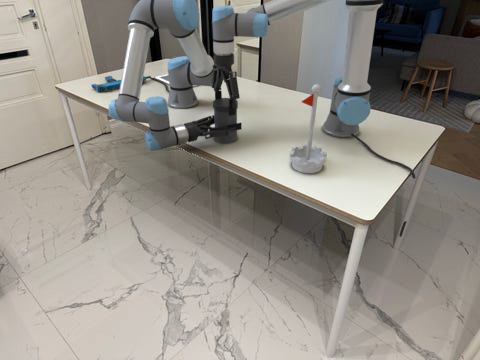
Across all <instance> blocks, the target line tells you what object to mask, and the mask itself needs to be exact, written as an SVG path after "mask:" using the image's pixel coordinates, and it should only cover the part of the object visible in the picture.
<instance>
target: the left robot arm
mask: <svg viewBox="0 0 480 360" xmlns="http://www.w3.org/2000/svg"><path fill="white" fill-rule="evenodd" d="M199 24H200V12H199V6H198V3H197V0H139V1H138V2H137V3H136V5H135V6H134V7H133V9H132V10H131V13H130V15H129V19H128V23H127V29H128V31H129V34H128V41H127V44H126V51H125V57H124V62H123V67H122V74H121V78H120V80H121V85H120V87H119V91H118V96H117V98H116V99H112V100H111V101H110V103H109V104H108V114H109V116H110V117H111V118H112V119H113V120H116V121H122V122H133V123H139V124H148V127H149V130H148V131H145V132H144V141H145V145H146V147H147V150H149V151H150V152H153V151H159V150H161V151H162V150H164V149H168V148H171V147H174V146H181V145H184V144H187V143H193V142H196V141H197V140H198V139H199V137H204V140H209V139H213V138H214V139H215V137H223V136H229V132H232V131H236V130H237V131H240V130H243V129H242V128H243V127H242V126H243V123H242V122H237V123H236V124H232V125H228V126H227V127H215V126H212V125H215V124H214V114H213V115H208V116H205V117H203V118H200V119H197V120H191V121H189V122H184V123H180V124H175V125H172V126H171V123H170V122H171V121H170V113H169V107H171V108H173V109H189V108H193V107H195V106H197V105H198V97H197V95H196V93H195V90H194V87H193V85H199V86H201V87H210V88H212V87H211V85H212V76H213V65H215V64H214V58H213V57H212V56H211V55H209V54H208V53H207V50H206V48H205V46H204V43H203V41H202V39H201V36H200V34H199V32H198V29H197V28H198V27H199ZM157 29H161V30H168V32H169V33H170V35H171V36H172V37H174V38H175V39H177V40H178V42H179V44H180V46H181V47H182V50H183V52H184V53H185V55H182V56H177V57H173V58H170V59H169V60H168V61H167V74H168V75H169V83H170V85H169V88H168V84H167V83H165V82H162V81H160V80H158V79H156V78H154V77H151V78H149V79H151V80H153V81H155V82H158V83H160V84H162V85H164V87H165V90H166V91H167V92H168V93H169V94H168V99H166V98H165V97H163V96H157V95H156V96H149V97H148V98H146V99H145V101H140V97H141V93H142V92H141V91H142V87H143V82H142V81H143V76H145V70H146V63H147V58H148V53H149V47H150V41H151V38H152V37H154V36H155V35H154V34H155V30H157ZM214 85H215V84H214ZM168 106H169V107H168Z"/></svg>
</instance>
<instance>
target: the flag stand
mask: <svg viewBox="0 0 480 360" xmlns="http://www.w3.org/2000/svg"><path fill="white" fill-rule="evenodd" d="M321 91H322V86H321V85H320V84H318V83H316V84H313V85H312V86H311V92H312V94H310V95H309V96H308V97H306V98H305V99H303V100H302V101H301V103H303V104H305V105H307V106H309V107H311V108H310V109H311V110H310V117H309V125H308V126H309V127H308V135H307V143H304V144H302V146H301V147H299V146H298V145H294V146H293V147H292V148H291V150H290V151H289V160H290V161H291V167H292V168H293V169H294V170H295V171H297V172H299V173H303V174H315V173H318V172H320V171H321V170H323V165H325V163H326V162H327V157H328V153H327V151H326V150H323V148H322V147H320V146H319V145H315V146H314V147H312V146H313V139H314V130H315V121H316V115H317V107H318V98H319V94H320V92H321Z"/></svg>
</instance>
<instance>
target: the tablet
mask: <svg viewBox="0 0 480 360" xmlns="http://www.w3.org/2000/svg"><path fill="white" fill-rule="evenodd" d="M153 78H154V79H157V80H159V81H162V82H164V83H165V84H166V85H168V86H170V83H169V75H168V73H167V74H163V75H157V76H154V77H153ZM198 86H200V85H193V88H195V87H198Z"/></svg>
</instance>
